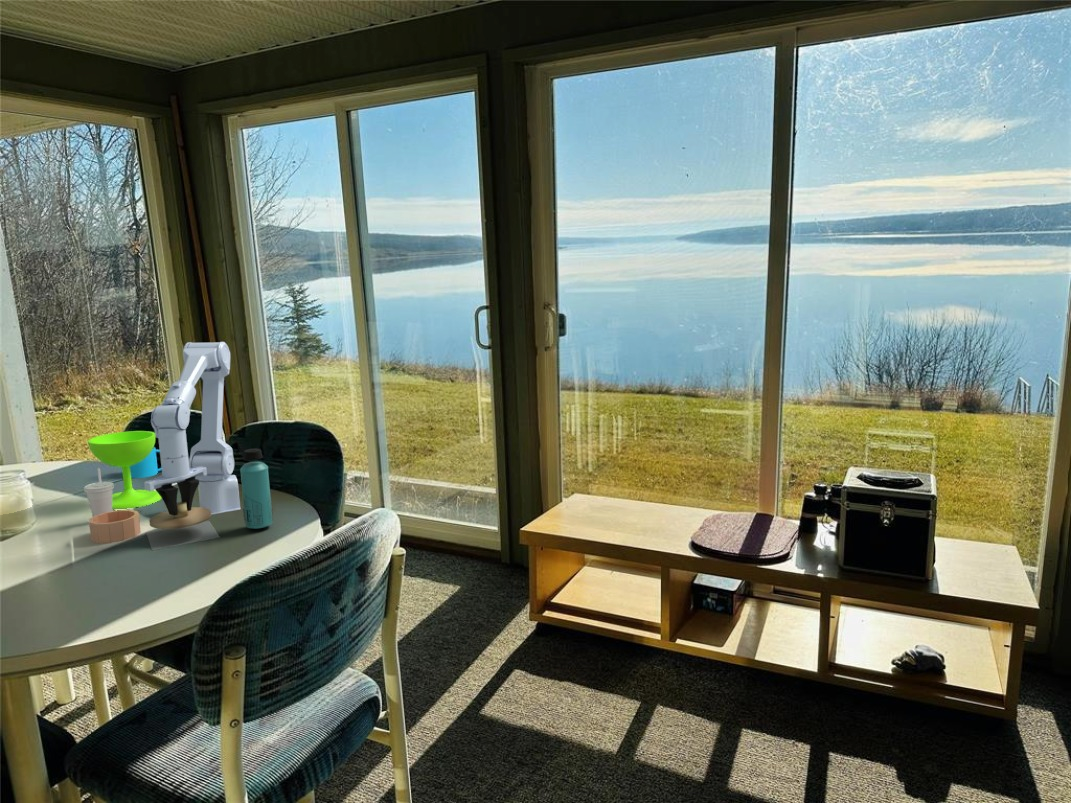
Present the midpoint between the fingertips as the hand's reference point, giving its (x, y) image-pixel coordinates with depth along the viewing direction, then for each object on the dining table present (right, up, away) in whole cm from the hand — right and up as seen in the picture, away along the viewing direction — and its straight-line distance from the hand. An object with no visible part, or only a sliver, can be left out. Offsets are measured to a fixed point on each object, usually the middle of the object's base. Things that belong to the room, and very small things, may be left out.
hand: (180, 512), depth 166 cm
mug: (-38, +3, +57) cm, 68 cm away
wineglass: (-28, -2, +29) cm, 40 cm away
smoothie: (-25, -5, +12) cm, 28 cm away
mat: (0, -6, +1) cm, 6 cm away
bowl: (-16, -6, +1) cm, 17 cm away
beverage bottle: (+17, -5, +5) cm, 18 cm away
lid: (0, -2, 0) cm, 2 cm away
